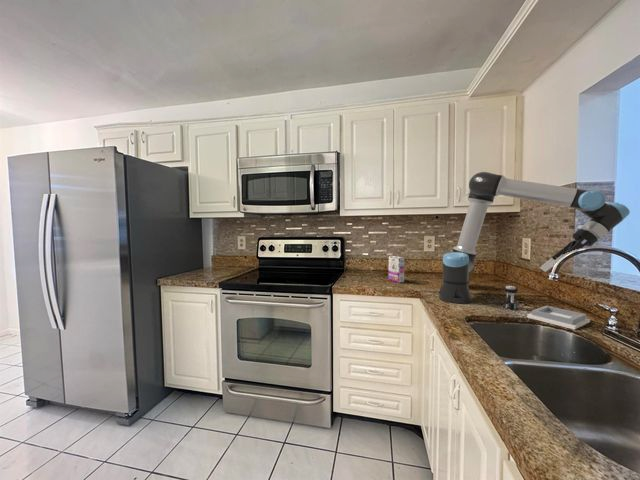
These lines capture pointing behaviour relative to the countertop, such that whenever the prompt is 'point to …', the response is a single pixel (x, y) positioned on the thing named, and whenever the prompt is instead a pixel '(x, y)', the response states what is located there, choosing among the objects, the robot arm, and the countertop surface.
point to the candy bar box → (396, 269)
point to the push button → (510, 297)
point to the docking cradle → (559, 317)
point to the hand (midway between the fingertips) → (546, 268)
